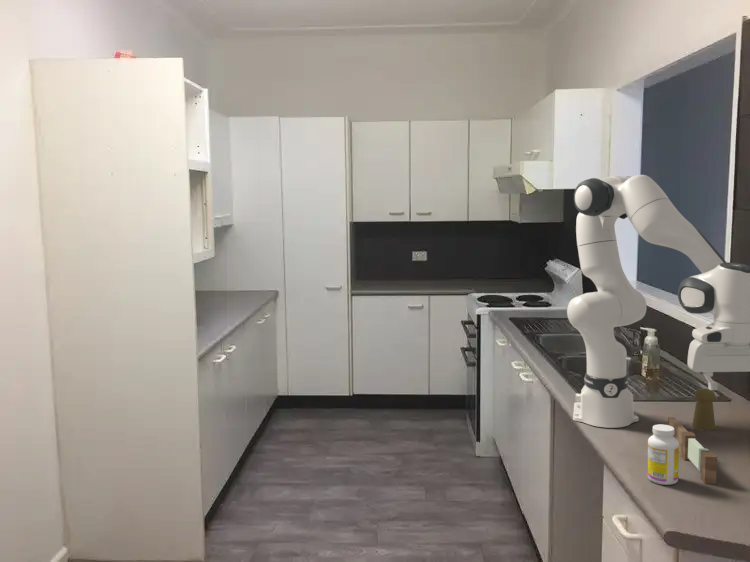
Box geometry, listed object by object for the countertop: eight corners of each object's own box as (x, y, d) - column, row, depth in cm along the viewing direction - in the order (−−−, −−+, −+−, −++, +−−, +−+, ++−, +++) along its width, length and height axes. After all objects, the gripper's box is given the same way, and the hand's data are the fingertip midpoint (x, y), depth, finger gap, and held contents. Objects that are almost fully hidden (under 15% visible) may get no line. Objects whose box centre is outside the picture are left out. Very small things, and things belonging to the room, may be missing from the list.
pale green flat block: (686, 457, 166) (687, 436, 166) (694, 457, 166) (695, 436, 165) (700, 472, 158) (700, 450, 157) (708, 472, 157) (709, 450, 157)
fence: (665, 438, 182) (666, 415, 181) (675, 438, 182) (675, 415, 181) (704, 483, 154) (705, 456, 153) (716, 483, 154) (716, 456, 153)
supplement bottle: (669, 473, 160) (671, 422, 158) (683, 485, 153) (684, 431, 152) (642, 474, 160) (643, 423, 158) (654, 486, 153) (656, 433, 152)
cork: (695, 421, 194) (696, 385, 192) (717, 425, 190) (719, 388, 189) (689, 427, 189) (690, 390, 188) (712, 432, 185) (714, 394, 184)
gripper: (774, 328, 158) (773, 385, 160) (685, 330, 160) (684, 386, 162) (788, 333, 152) (786, 392, 154) (695, 335, 154) (694, 393, 156)
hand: (733, 389), depth 158 cm, fingers open, 8 cm apart
